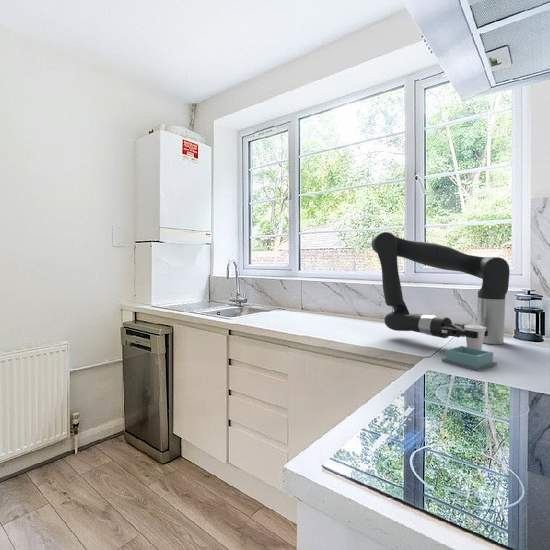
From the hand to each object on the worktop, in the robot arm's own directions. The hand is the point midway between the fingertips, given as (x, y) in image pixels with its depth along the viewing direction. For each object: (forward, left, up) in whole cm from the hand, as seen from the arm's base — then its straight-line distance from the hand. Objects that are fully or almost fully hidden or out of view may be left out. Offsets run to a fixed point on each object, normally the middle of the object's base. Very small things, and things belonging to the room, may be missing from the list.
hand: (482, 334), depth 115 cm
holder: (+11, +2, -8) cm, 14 cm away
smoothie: (0, -2, -8) cm, 8 cm away
